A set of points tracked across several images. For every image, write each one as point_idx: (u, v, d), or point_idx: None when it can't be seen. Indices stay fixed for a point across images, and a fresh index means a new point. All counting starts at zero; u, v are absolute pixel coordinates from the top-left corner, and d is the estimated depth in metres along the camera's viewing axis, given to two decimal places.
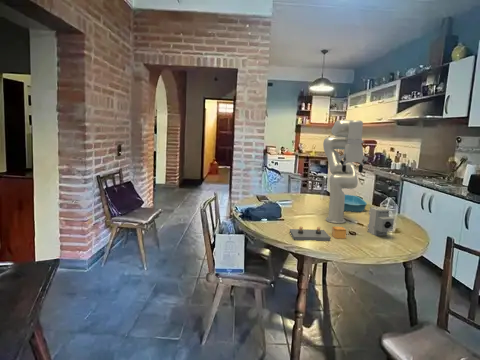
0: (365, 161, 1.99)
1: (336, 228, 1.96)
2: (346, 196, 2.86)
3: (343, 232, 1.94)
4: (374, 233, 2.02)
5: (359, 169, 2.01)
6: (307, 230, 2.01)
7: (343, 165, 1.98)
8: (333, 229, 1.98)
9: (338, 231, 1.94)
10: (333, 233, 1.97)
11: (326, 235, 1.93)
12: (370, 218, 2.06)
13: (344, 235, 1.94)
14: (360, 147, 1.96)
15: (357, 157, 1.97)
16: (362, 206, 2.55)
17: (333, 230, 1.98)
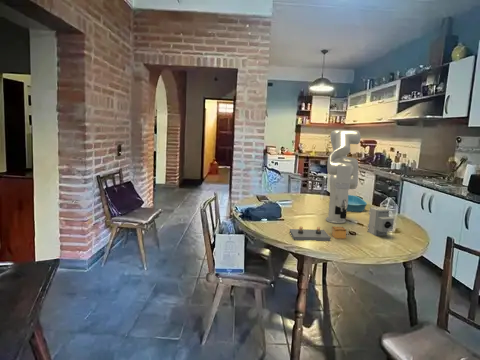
0: None
1: (336, 228, 1.96)
2: None
3: (343, 232, 1.94)
4: (374, 233, 2.02)
5: (337, 211, 1.99)
6: (307, 230, 2.01)
7: (345, 212, 1.89)
8: (333, 229, 1.98)
9: (338, 231, 1.94)
10: (333, 233, 1.97)
11: (326, 235, 1.93)
12: (370, 218, 2.06)
13: (344, 235, 1.94)
14: None
15: None
16: (362, 206, 2.55)
17: (333, 230, 1.98)
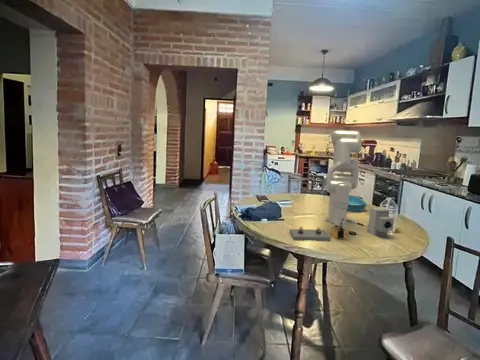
0: None
1: (336, 228, 1.96)
2: None
3: None
4: (374, 233, 2.02)
5: None
6: (307, 230, 2.01)
7: (343, 231, 1.93)
8: (333, 229, 1.98)
9: None
10: (333, 233, 1.97)
11: (326, 235, 1.93)
12: (370, 218, 2.06)
13: (344, 235, 1.94)
14: None
15: None
16: (362, 206, 2.55)
17: (333, 230, 1.97)
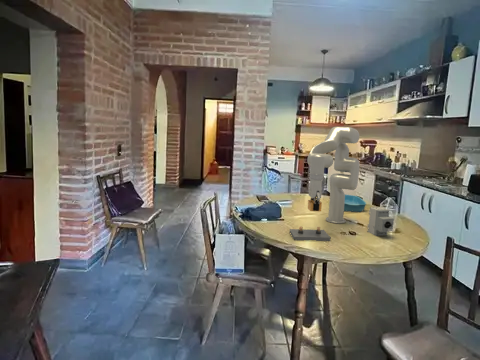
0: None
1: (312, 201, 1.92)
2: (346, 196, 2.86)
3: (319, 205, 1.90)
4: (374, 233, 2.02)
5: None
6: (307, 230, 2.01)
7: (318, 204, 1.89)
8: (309, 202, 1.94)
9: None
10: (309, 206, 1.94)
11: (326, 235, 1.93)
12: (370, 218, 2.06)
13: (320, 208, 1.91)
14: None
15: None
16: (361, 206, 2.55)
17: (309, 203, 1.94)
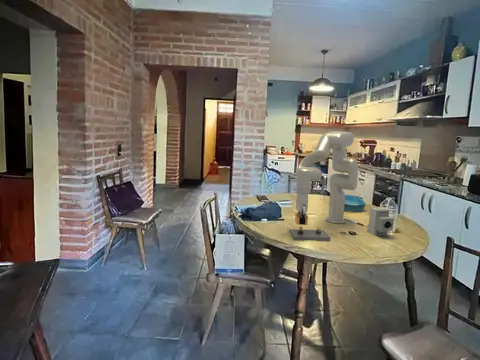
0: None
1: (298, 214, 1.93)
2: (347, 196, 2.85)
3: None
4: (374, 233, 2.02)
5: None
6: (307, 230, 2.01)
7: (304, 218, 1.90)
8: (295, 216, 1.95)
9: None
10: (295, 220, 1.94)
11: (326, 235, 1.93)
12: (370, 218, 2.06)
13: (306, 221, 1.91)
14: None
15: None
16: (361, 206, 2.55)
17: (295, 217, 1.95)
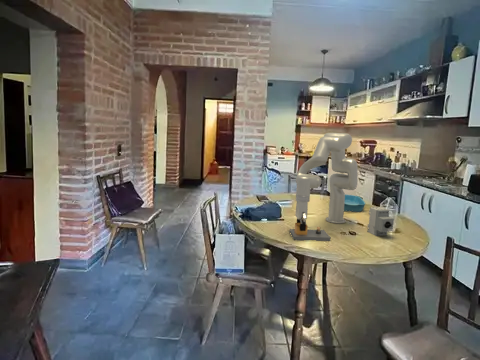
0: None
1: (298, 224, 1.94)
2: (347, 196, 2.85)
3: None
4: (374, 233, 2.02)
5: None
6: (307, 230, 2.01)
7: (304, 224, 1.89)
8: (295, 225, 1.96)
9: (299, 227, 1.92)
10: (295, 229, 1.95)
11: (326, 235, 1.93)
12: (370, 218, 2.06)
13: (306, 231, 1.92)
14: None
15: None
16: (360, 206, 2.55)
17: (295, 226, 1.96)
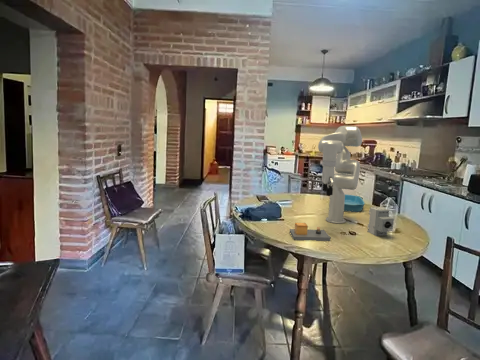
0: None
1: (298, 224, 1.94)
2: (348, 196, 2.85)
3: (304, 228, 1.92)
4: (374, 233, 2.02)
5: (325, 188, 2.05)
6: (307, 230, 2.01)
7: (331, 188, 1.94)
8: (295, 225, 1.96)
9: (299, 227, 1.92)
10: (295, 229, 1.95)
11: (326, 235, 1.93)
12: (370, 218, 2.06)
13: (306, 231, 1.92)
14: None
15: None
16: (359, 206, 2.55)
17: (295, 226, 1.96)
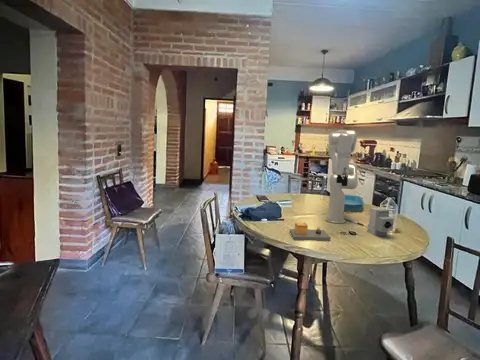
0: None
1: (298, 224, 1.94)
2: (349, 196, 2.85)
3: (304, 228, 1.92)
4: (374, 233, 2.02)
5: (339, 180, 2.08)
6: (307, 230, 2.01)
7: (346, 179, 1.98)
8: (295, 225, 1.96)
9: (299, 227, 1.92)
10: (295, 229, 1.95)
11: (326, 235, 1.93)
12: (370, 218, 2.06)
13: (306, 231, 1.92)
14: None
15: None
16: (358, 206, 2.54)
17: (295, 226, 1.96)
